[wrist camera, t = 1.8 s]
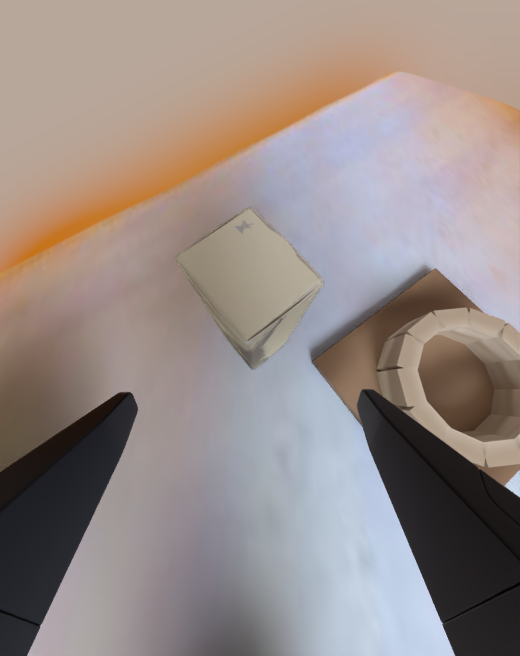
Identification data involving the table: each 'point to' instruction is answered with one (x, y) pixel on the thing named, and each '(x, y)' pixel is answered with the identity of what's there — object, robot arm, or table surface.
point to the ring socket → (438, 371)
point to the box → (251, 284)
